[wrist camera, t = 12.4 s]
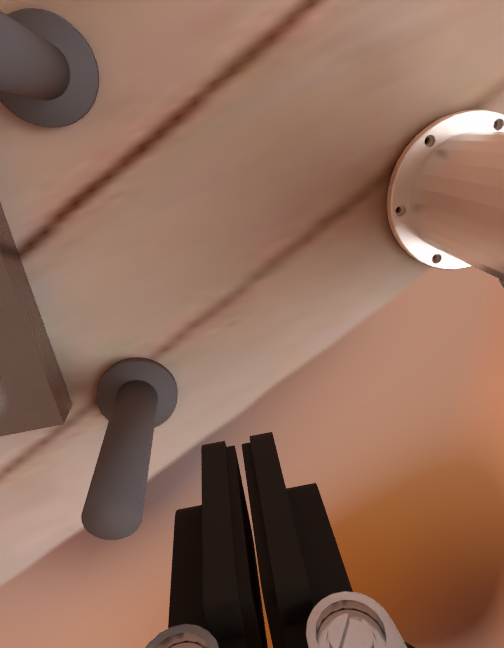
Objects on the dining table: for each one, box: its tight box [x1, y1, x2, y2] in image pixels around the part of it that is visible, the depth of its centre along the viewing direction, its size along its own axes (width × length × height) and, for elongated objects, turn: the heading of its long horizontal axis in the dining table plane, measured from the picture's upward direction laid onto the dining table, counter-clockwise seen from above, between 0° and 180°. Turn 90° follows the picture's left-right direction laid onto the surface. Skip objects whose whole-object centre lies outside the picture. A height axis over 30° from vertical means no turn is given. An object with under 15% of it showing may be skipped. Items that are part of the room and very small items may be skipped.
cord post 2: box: [82, 358, 177, 540], centre depth 35 cm, size 7×7×15 cm
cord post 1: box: [0, 9, 99, 127], centre depth 25 cm, size 7×7×15 cm
